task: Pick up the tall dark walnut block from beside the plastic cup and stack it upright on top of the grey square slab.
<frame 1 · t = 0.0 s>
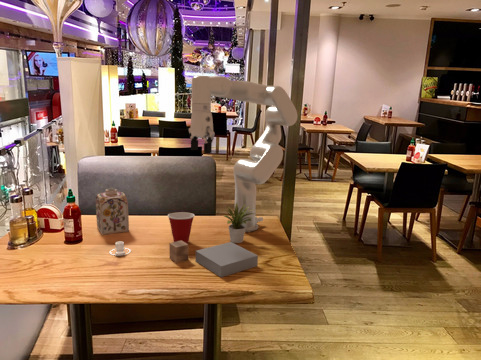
hand: (200, 151, 163), 37 cm above the table, tool pointing down, fingers open, 9 cm apart
grey square slab: (226, 263, 147), on the table
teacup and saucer: (112, 255, 152), on the table
house plant: (236, 242, 168), on the table
walnut block: (178, 259, 149), on the table
decorative jar: (112, 229, 178), on the table
plastic cup: (181, 242, 165), on the table
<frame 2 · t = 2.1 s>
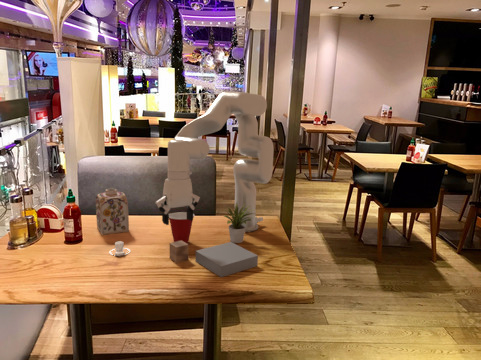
hand: (177, 221, 146), 14 cm above the table, tool pointing down, fingers open, 9 cm apart
nothing on the table moved.
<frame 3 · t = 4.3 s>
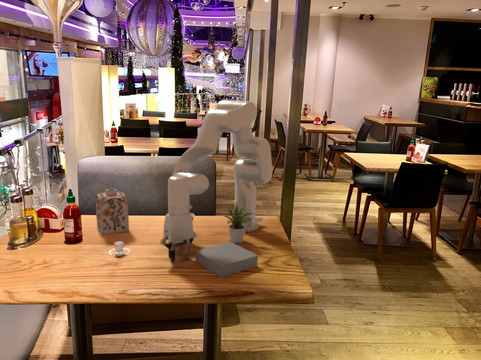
hand: (178, 257, 149), 1 cm above the table, tool pointing down, fingers closed on walnut block, 5 cm apart
walnut block: (178, 259, 149), on the table, touching gripper
everything else where it was.
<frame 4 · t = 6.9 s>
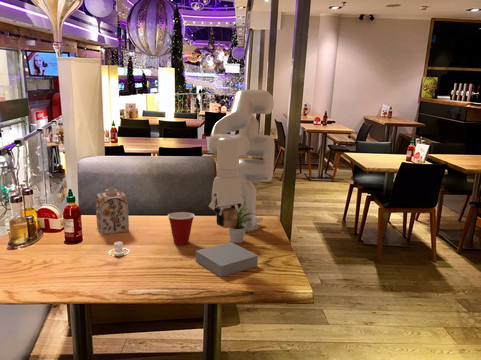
hand: (226, 223, 143), 15 cm above the table, tool pointing down, fingers closed on walnut block, 5 cm apart
walnut block: (226, 225, 143), point 15 cm above the table, touching gripper
everything else where it was.
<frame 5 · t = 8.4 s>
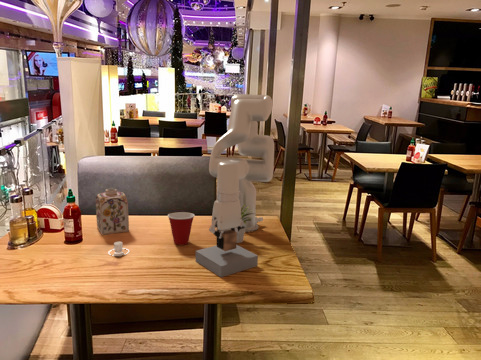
hand: (226, 245, 145), 7 cm above the table, tool pointing down, fingers closed on walnut block, 5 cm apart
walnut block: (226, 247, 145), point 6 cm above the table, touching gripper
everything else where it was.
when the fingers open (6 cm above the table, at t = 9.4 s): walnut block drops 1 cm, resting on grey square slab.
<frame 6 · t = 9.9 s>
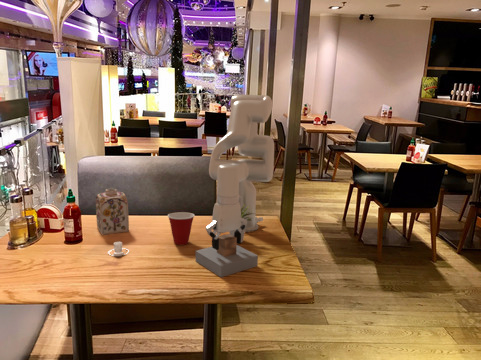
hand: (226, 245, 145), 7 cm above the table, tool pointing down, fingers open, 9 cm apart
walnut block: (226, 253, 146), point 4 cm above the table, touching grey square slab
everything else where it was.
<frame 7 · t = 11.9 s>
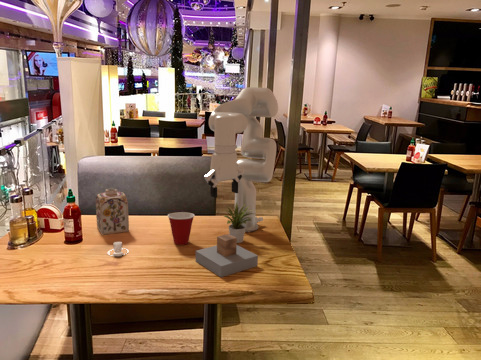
hand: (224, 194, 151), 23 cm above the table, tool pointing down, fingers open, 9 cm apart
nothing on the table moved.
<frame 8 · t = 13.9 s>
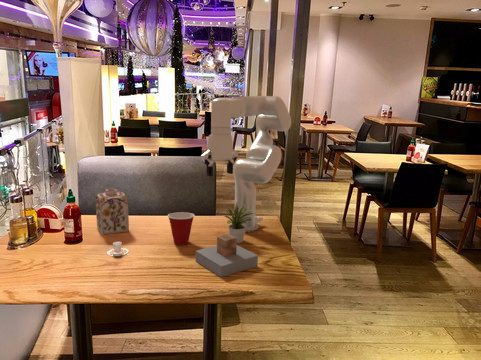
hand: (219, 174, 161), 28 cm above the table, tool pointing down, fingers open, 9 cm apart
nothing on the table moved.
at the end: walnut block inside the target area on the grey square slab (0.1 cm from its centre), point 4.0 cm above the grey square slab's base; walnut block tilted 0°; the gripper is holding nothing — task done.
